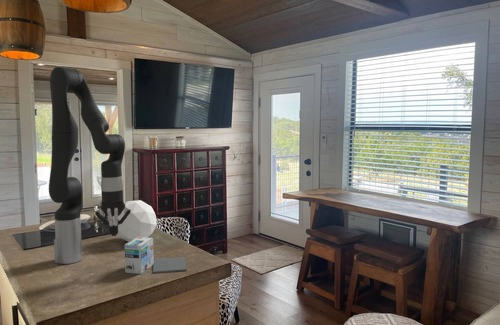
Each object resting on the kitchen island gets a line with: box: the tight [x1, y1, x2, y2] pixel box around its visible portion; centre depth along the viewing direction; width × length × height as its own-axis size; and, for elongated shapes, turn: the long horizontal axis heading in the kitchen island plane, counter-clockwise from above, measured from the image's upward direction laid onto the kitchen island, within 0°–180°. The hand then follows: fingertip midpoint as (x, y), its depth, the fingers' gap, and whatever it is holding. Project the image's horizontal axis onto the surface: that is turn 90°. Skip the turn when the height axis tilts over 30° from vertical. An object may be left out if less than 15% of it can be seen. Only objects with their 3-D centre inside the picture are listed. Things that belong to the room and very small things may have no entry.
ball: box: [113, 199, 157, 243], centre depth 182 cm, size 19×20×20 cm
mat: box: [152, 256, 187, 274], centre depth 151 cm, size 12×14×1 cm
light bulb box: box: [124, 237, 155, 275], centre depth 147 cm, size 11×7×11 cm, turn 168°
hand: (114, 235), depth 144 cm, fingers closed
